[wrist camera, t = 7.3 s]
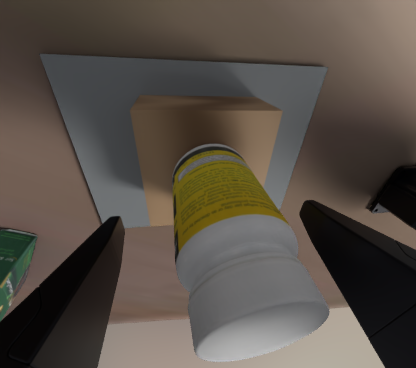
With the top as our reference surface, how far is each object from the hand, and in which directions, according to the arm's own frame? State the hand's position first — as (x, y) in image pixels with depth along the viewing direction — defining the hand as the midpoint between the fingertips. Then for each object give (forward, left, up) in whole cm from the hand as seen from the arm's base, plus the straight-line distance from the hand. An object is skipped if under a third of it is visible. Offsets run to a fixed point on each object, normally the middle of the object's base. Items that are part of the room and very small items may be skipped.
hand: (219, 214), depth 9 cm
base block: (0, 0, -8) cm, 8 cm away
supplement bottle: (0, 0, -4) cm, 4 cm away
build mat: (0, +1, -8) cm, 8 cm away
